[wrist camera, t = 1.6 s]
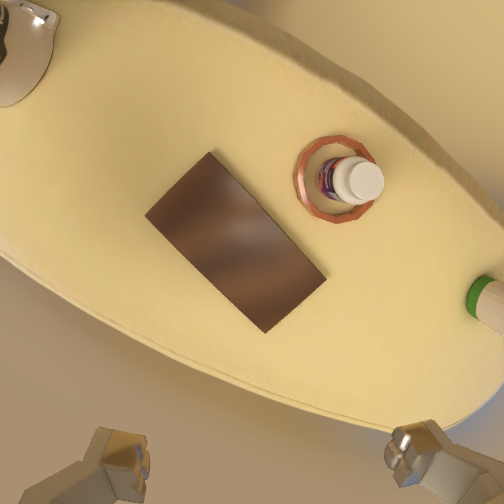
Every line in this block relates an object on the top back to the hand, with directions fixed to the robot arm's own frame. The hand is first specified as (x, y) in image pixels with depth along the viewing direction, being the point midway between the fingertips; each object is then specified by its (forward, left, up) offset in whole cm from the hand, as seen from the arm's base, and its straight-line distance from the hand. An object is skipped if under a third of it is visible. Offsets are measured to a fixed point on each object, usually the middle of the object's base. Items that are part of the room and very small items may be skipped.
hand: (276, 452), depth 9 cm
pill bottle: (+3, +15, -33) cm, 36 cm away
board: (+1, 0, -33) cm, 33 cm away
